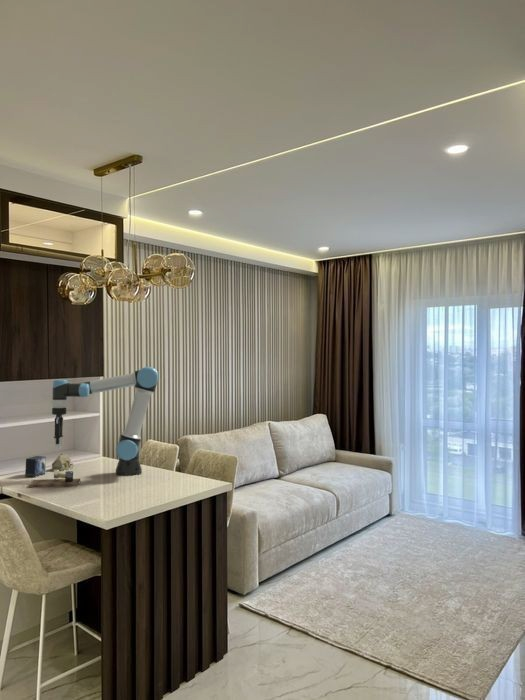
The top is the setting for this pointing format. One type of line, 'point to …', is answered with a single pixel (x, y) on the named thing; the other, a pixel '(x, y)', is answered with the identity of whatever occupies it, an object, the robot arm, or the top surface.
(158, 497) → the top surface
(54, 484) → the dial board
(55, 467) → the ceramic model
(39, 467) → the small box
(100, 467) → the top surface
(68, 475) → the lever
